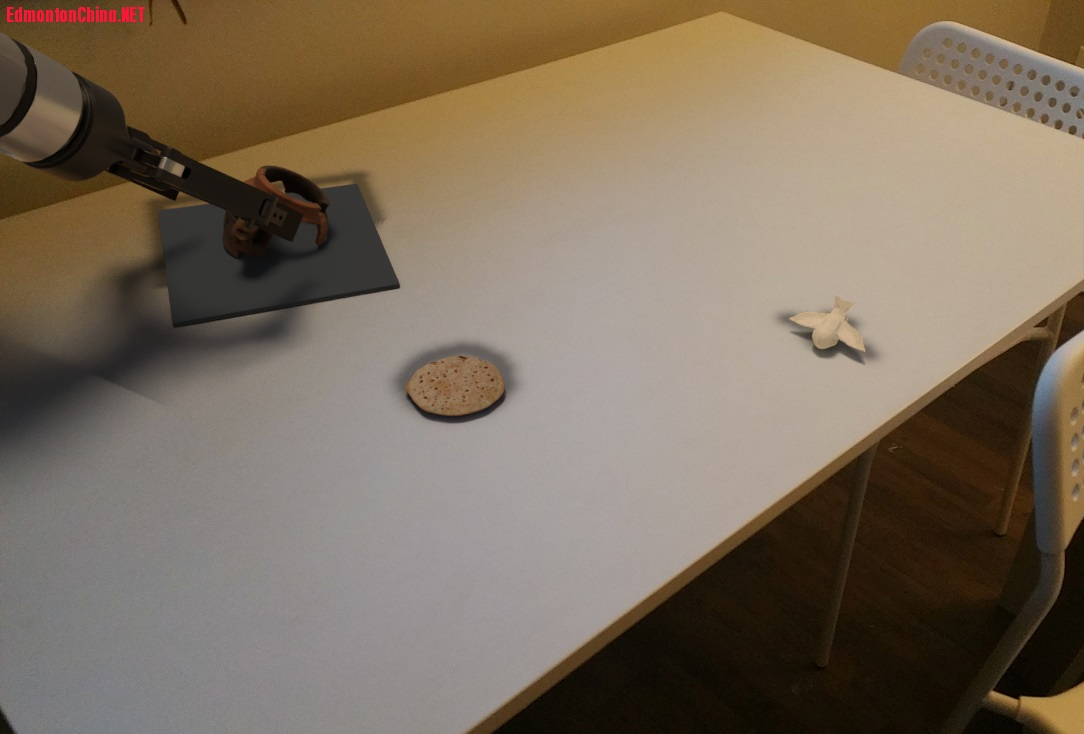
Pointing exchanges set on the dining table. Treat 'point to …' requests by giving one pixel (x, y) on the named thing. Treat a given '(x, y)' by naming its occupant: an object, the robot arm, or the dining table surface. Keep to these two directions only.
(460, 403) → the flatbread
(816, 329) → the white bird figurine
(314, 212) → the broken brown clay pot
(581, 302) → the dining table surface
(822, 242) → the dining table surface
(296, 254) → the placemat
